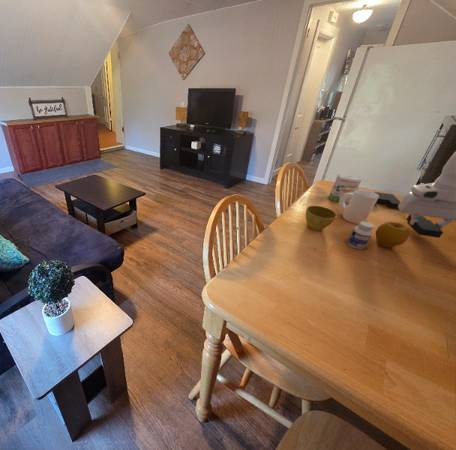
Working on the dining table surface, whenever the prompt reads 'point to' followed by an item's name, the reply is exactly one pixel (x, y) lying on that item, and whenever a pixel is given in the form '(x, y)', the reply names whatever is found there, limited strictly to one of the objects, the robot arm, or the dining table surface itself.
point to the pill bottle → (361, 235)
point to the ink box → (344, 187)
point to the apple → (391, 234)
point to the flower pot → (319, 217)
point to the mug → (358, 205)
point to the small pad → (425, 227)
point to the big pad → (387, 200)
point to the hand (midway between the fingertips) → (424, 226)
